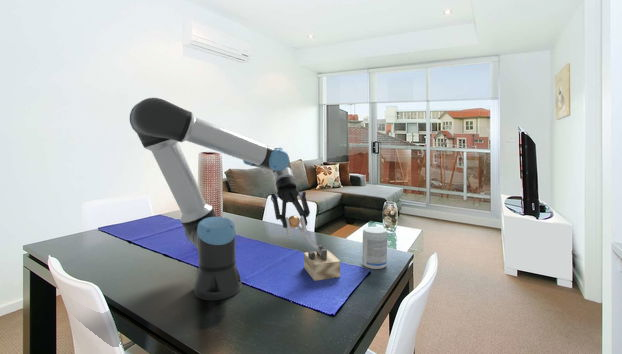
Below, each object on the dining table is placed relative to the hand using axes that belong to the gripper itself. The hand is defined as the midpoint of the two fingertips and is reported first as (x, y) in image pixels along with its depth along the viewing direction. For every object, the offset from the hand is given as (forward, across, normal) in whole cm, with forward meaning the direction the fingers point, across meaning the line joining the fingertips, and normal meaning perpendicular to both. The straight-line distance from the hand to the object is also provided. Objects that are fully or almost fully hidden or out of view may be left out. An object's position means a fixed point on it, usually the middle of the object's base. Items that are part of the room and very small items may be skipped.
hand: (297, 234), depth 108 cm
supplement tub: (+10, -33, -15) cm, 37 cm away
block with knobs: (+9, -10, -15) cm, 20 cm away
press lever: (+4, -10, -10) cm, 15 cm away
